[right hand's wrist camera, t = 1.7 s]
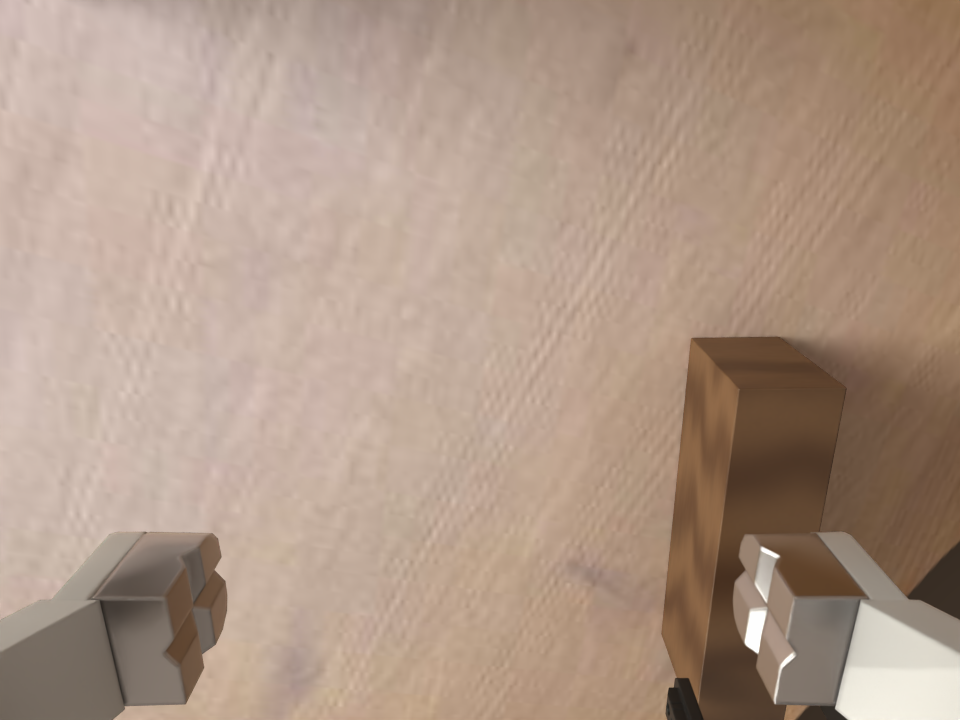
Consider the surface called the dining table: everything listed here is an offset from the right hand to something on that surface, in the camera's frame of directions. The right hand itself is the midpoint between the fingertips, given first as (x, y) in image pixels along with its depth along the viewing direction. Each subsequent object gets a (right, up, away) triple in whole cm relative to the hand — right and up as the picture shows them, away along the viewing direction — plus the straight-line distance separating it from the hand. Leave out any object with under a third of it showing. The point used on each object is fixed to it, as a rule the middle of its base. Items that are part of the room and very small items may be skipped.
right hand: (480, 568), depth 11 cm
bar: (+16, -6, +34) cm, 38 cm away
